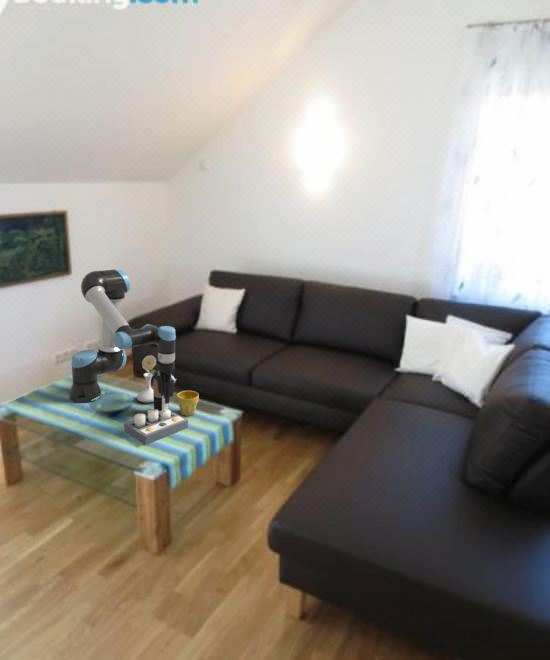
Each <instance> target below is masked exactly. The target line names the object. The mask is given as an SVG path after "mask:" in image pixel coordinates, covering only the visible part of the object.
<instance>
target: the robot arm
mask: <svg viewBox="0 0 550 660" xmlns="http://www.w3.org/2000/svg"><path fill="white" fill-rule="evenodd" d="M80 289H81V293H82V297H84V299H85V300H86V301H87V302H88V303H90V304H91V305H92V306H93V307H94V309H95V310H96V312H97V313H98V314H99V315H100V318H101V319H102V325H101V343H100V344H99V345H98V348H97V349H98V351H96V350H93V349H84V350H83V349H82V350H80V351H77V352H75V353H74V354H73V355H72V357H71V364H70V365H71V373H72V374H71V375H72V376H71V377H72V384H71V387H70V390H69V393H68V395H69V396H68V397H69V399H70V401H72V402H75V403H80V404H81V403H82V404H83V403H91V402H90V401H91V400H92V399H94V398H96V397H98V396H100V395H101V396H102V389H101V387H100V384H99V382H98V376H100V375H103V374H107V373H108V374H109V373H112V372H117V371H120V370H122V369H124V367H125V366H126V363H127V354H126V351H125V350H127V349H130V348H135V347H140V346H146V345H151V344H152V345H155V346H157V371H158V370H159V371H158V372H155V375H156V378H157V385H158V392H159V393H161V396H162V410H166V409H169V410H170V398H171V397H173V396H174V393H175V391H174V390H175V389H176V388H175V386H176V383H177V381H178V379H177V378H175V377H174V371H175V368H176V367H175V365H176V364H175V363H176V361H175V360H176V339H177V335H176V329H175V327H173V326H169V325H163V326H159V327H158V326H156V325H152V324H149V323H148V324H145V325H143V326H142V327H141V328H136V329H133V328H132V327H131V326H130V324H129V323H128V322H127V320H126V319H125V318H124V316H123V315H122V312H121V311H122V301H123V300H124V299H125V296H126V293H127V294H128V292H129V291H130V290H131V281H130V278H129V275H128V274H127V272H126V271H124V270H122V269H115V268H114V269H106V270H94V271H89V272H88V273H87V274H86V275H84V277H82V280H81V285H80ZM169 397H170V398H169Z"/></svg>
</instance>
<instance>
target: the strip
mask: <svg viewBox="0 0 550 660" xmlns="http://www.w3.org/2000/svg"><path fill="white" fill-rule="evenodd" d="M179 416H180V415H179ZM179 416H177V417H174V418H172V419H169V420H166V421H164V422H161V423H158V424H156V425H153V426H150V427H148V428H145V429H142V430H140V431H141V432H142V433H144V434H149V433H152V432H154V431H157V430H159V429H162V428H165V427H167V426H170V425H172V424H175V423H178V422H180V421H183V420H185V419H186V418H185V419H183V418H184V417H183V418H181V417H182V416H181V417H179Z"/></svg>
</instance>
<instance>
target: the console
mask: <svg viewBox="0 0 550 660" xmlns="http://www.w3.org/2000/svg"><path fill="white" fill-rule="evenodd" d="M160 416H161V411H158V422H156V423H153V424H151V423H149V422H148V414H146V415H145V427H143V428H140V429H138V428H136V427H135V419H132V420H130V421H127V422H124V423H123V432H124V433H126V434H127V435H128V434H129V435H128V436H131V437H132V438H133V439H135V440H137V441H139V442H140V443H141V444H143V445H145V446H147V445H149V444H152V443H155V442H157V441H159V440H162V439H164V438H167V437H169V436H172V435H174V434H177V433H179V432H181V431H182V432H183V431H184V430H187V429H188V428H189V419H186V418H185V417H183V416H181V415H179V414H177V413H175V412H174V411H171V417H169V418H167V419H163V418H161V417H160ZM177 416H179V417H181V418H183V419H185V420H183V421H180V422H178V423H175V424H172V425H170V426H167V427H165V428H162V429H159V430H157V431H154V432H152V433H149V434H144V433H142V432H141V431H140V430H142V429H145V428H148V427H150V426H153V425H156V424H158V423H161V422H164V421H166V420H169V419H172V418H174V417H177Z"/></svg>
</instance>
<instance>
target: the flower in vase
mask: <svg viewBox="0 0 550 660" xmlns="http://www.w3.org/2000/svg"><path fill="white" fill-rule="evenodd" d="M141 365H142V368H143V370H145V373H143V377H144V380H145V388H144V389H143V390H141V391H139V393H137V396H136V399H137V400H138V401H139V402H142V403H154V398H153V390H154V388H152V387H151V383H152V382H151V381H152V378H153V377H154V372H155V371H156V370H155V369H154V368H155V366H156V365H157V358H156V357H155V356H154V355H152V354H150V355H147V356H145V357H144V358H143V360H142V361H141Z"/></svg>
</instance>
